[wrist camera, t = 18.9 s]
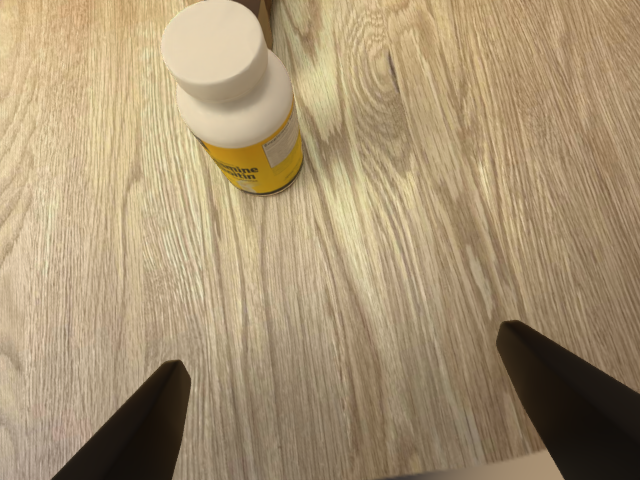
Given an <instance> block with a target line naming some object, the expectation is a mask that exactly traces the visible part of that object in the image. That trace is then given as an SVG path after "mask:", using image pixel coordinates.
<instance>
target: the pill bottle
mask: <svg viewBox="0 0 640 480" xmlns="http://www.w3.org/2000/svg"><path fill="white" fill-rule="evenodd" d="M161 54H162V58H163V61H164V63H165V65H166V67H167V68H168V70H169V71H170V73H171V74H172V76H173V78H174V79H175V81H176V82H177V87H176V101H177V106H178V110H179V113H180V115H181V117H182V119H183V121H184V122H185V124H186V125H187V127H188V128H189V130H190V131H191V132H192V133H193V135H194V136H195V137H196V139H197V140H198V141H199V142H200V143H201V145H202V146H203V147H204V149H205V150H206V151H207V152H208V154H209V155H210V156H211V158H212V159H213V160H214V162H215V163H216V164H217V165H218V167H219V168H220V169H221V171H222V172H223V173H224V175H225V176H226V177H227V178H228V180H229V181H230V182H231V183H232V184H233V185H234V186H235V187H236V188H238V189H239V190H241V191H242V192H244V193H247V194H250V195H254V196H269V195H273V194H277V193H279V192H281V191H283V190H285V189H286V188H287V187H289V186H290V185H291V184H292V183H293V182H294V181H295V180H296V178H297V177H298V175H299V173H300V171H301V168H302V165H303V146H302V141H301V135H300V129H299V123H298V117H297V111H296V105H295V99H294V94H293V88H292V83H291V80H290V76H289V74H288V71H287V69H286V68H285V66H284V64H283V63H282V61H281V60H280V59H279V58H278V57H277V56H276V55H275V54H274V53H273V52H272V51H271V50H269V49H268V48H267V45H266V42H265V39H264V35H263V32H262V28H261V25H260V23H259V21H258V19H257V18H256V16H255V15H254V14H253V13H252V12H251V11H250V10H249V9H248V8H246V7H245V6H243V5H242V4H239V3H237V2H234V1H231V0H205V1H201V2H198V3H195V4H192V5H190V6H188V7H186V8H184V9H183V10H181V11H180V12H179V13H177V14H176V15H175V16H174V17H173V18H172V19H171V21H170V22H169V23H168V25H167V26H166V28H165V30H164V33H163V36H162V39H161Z"/></svg>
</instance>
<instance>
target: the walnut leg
mask: <svg viewBox="0 0 640 480" xmlns="http://www.w3.org/2000/svg"><path fill="white" fill-rule="evenodd" d="M204 1H205V0H204ZM231 1H234V2H237V3H239V4H242V5H243V6H245V7H246V8H248V9H249V10H250V11H251V12H252V13H253V14H254V15H255V16H256V18H257V19H258V21H259V23H260V25H261V28H262V32H263V35H264V39H265V42H266V45H267V48H268V49H269V50H271V51H272V45H273V38H272V33H271V29H270V24H269V19H270V13H271V6H272V0H231Z"/></svg>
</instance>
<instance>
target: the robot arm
mask: <svg viewBox="0 0 640 480" xmlns="http://www.w3.org/2000/svg"><path fill="white" fill-rule="evenodd" d="M496 346H497V350H498V352H499V354H500V356H501V359H502V361H503V363H504V365H505V368H506V370H507V372H508V375H509V377H510V379H511V381H512V384H513V386H514V388H515V390H516V393H517V395H518V397H519V399H520V401H521V403H522V405H523V407H524V409H525V411H526V413H527V414H528V416H529V418H530V420H531V421H532V423H533V425H534V427H535V428H536V430H537V432H538V434H539V436H540V437H541V439H542V441H543V443H544V444H545V446H546V448H547V450H548V451H549V453H550V455H551V457H552V458H553V460H554V462H555V464H556V465H557V467H558V469H559V471H560V473H561V474H562V476H563V478H564V479H565V480H640V394H639V393H637V392H635V391H634V390H632V389H630V388H629V387H627V386H626V385H624V384H622V383H621V382H619V381H617V380H616V379H614V378H613V377H611V376H609V375H608V374H606V373H604V372H603V371H601V370H599V369H598V368H596V367H595V366H593V365H591V364H590V363H588V362H586V361H585V360H583V359H581V358H580V357H578V356H577V355H575V354H573V353H572V352H570V351H568V350H567V349H565V348H564V347H562V346H560V345H559V344H557V343H555V342H554V341H552V340H550V339H549V338H547V337H546V336H544V335H542V334H541V333H539V332H537V331H536V330H534V329H532V328H531V327H529V326H528V325H526V324H524V323H523V322H521V321H519V320H510V321H504V322H502V323H501V325H500V329H499V332H498V336H497V340H496ZM190 388H191V378H190V375H189V374H188V372H187V370H186V368H185V366H184V364H183V362H182V361H181V360H170V361H166V362H164V363H163V364H162V365H161V366H160V367H159V368H158V369H157V370H156V371H155V372H154V373H153V374H152V375H151V376H150V377H149V378H148V379H147V380H146V381H145V382H144V383H143V384H142V385H141V386H140V388H139V389H138V390H137V391H136V392H135V393H134V394H133V395H132V396H131V397H130V398H129V399H128V400H127V401H126V402H125V403H124V404H123V405H122V406H121V407H120V408H119V409H118V410H117V411H116V412H115V414H114V415H113V416H112V417H111V418H110V419H109V420H108V421H107V422H106V423H105V424H104V425H103V426H102V427H101V428H100V429H99V430H98V431H97V432H96V433H95V434H94V435H93V436H92V437H91V438H90V440H89V441H88V442H87V443H86V444H85V445H84V446H83V447H82V448H81V449H80V450H79V451H78V452H77V453H76V454H75V455H74V456H73V457H72V458H71V459H70V460H69V461H68V462H67V463H66V464H65V465H64V467H63V468H62V469H61V470H60V471H59V472H58V473H57V474H56V475H55V476H54V477H53V478H52V479H51V480H172V477H173V473H174V469H175V465H176V462H177V458H178V454H179V450H180V446H181V442H182V437H183V431H184V425H185V419H186V413H187V407H188V400H189V394H190Z"/></svg>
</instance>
